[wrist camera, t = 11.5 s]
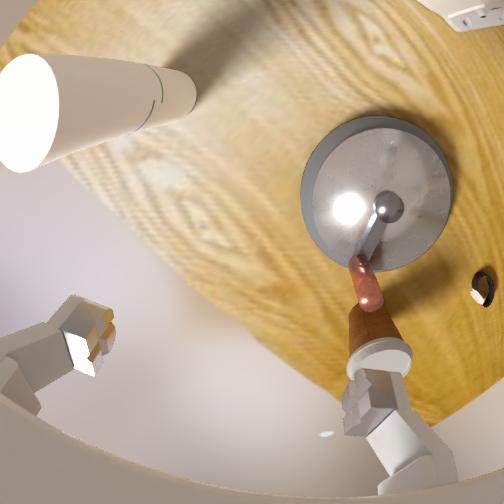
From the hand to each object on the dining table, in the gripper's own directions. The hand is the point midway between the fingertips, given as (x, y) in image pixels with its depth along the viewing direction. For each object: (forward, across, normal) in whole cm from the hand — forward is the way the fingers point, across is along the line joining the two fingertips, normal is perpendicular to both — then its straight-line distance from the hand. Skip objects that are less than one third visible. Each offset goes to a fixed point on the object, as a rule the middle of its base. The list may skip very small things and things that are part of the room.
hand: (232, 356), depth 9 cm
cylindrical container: (+31, +15, -6) cm, 35 cm away
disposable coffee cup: (+31, -20, +20) cm, 42 cm away
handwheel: (+29, -14, +1) cm, 32 cm away
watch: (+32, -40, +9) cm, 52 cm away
